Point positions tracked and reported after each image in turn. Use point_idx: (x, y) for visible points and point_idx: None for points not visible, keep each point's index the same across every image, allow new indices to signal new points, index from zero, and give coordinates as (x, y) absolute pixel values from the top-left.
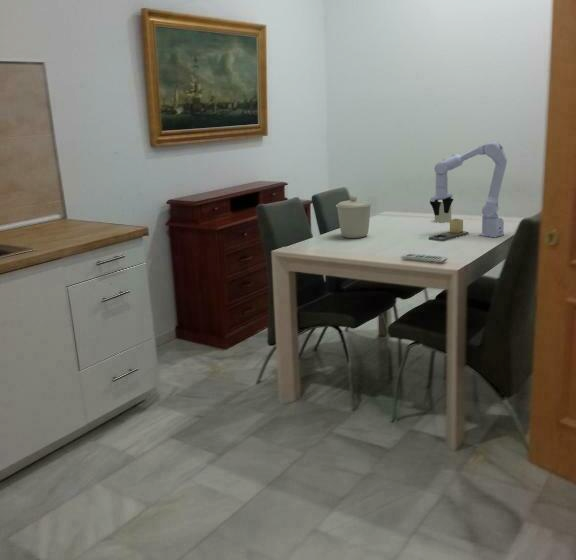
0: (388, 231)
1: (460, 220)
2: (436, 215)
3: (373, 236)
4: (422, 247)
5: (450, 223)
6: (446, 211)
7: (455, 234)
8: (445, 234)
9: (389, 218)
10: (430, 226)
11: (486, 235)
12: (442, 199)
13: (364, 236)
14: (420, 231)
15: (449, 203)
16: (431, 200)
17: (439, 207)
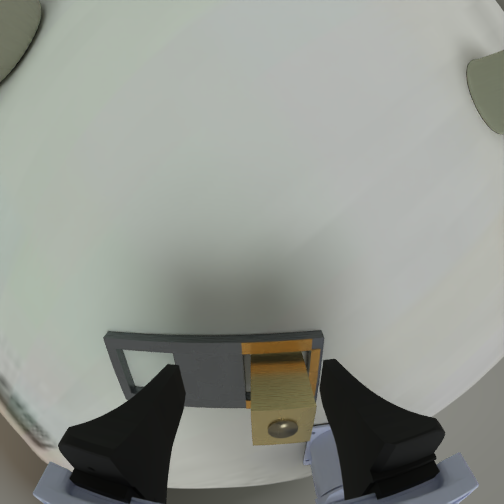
0: (133, 16)
1: (283, 442)
2: (489, 69)
3: (25, 80)
4: (40, 375)
5: (251, 399)
6: (324, 390)
7: (230, 398)
8: (198, 368)
9: None
10: (392, 94)
11: (306, 449)
12: (383, 449)
13: (10, 71)
14: (233, 136)
15: (341, 471)
16: (52, 477)
17: (167, 458)
